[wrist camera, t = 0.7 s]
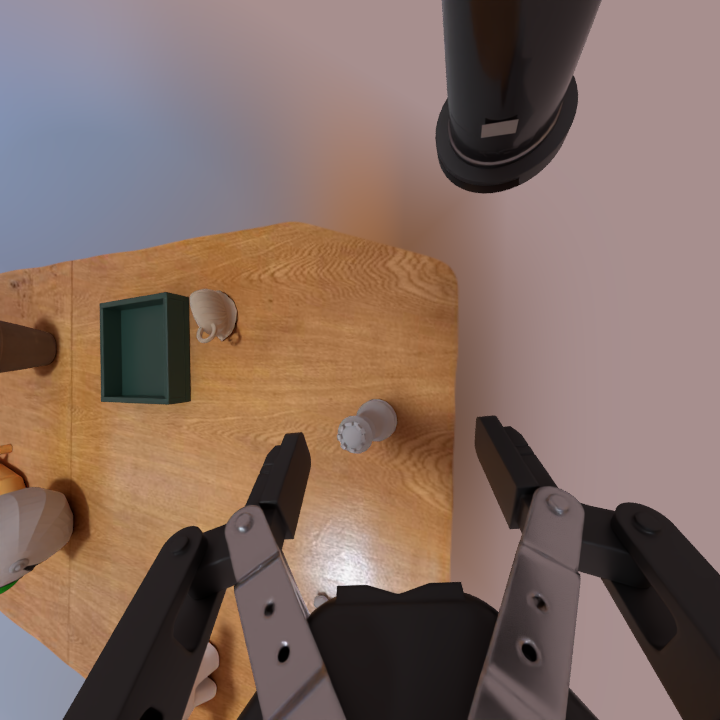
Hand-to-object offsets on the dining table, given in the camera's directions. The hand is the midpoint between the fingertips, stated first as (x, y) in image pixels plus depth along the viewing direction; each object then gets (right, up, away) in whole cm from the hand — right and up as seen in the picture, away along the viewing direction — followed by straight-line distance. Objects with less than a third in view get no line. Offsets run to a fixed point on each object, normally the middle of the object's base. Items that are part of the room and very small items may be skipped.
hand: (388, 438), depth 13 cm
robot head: (-57, -26, +40) cm, 74 cm away
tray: (-34, +5, +31) cm, 46 cm away
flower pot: (-64, +6, +42) cm, 77 cm away
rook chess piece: (+1, -3, +18) cm, 18 cm away
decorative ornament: (-20, +10, +26) cm, 34 cm away
